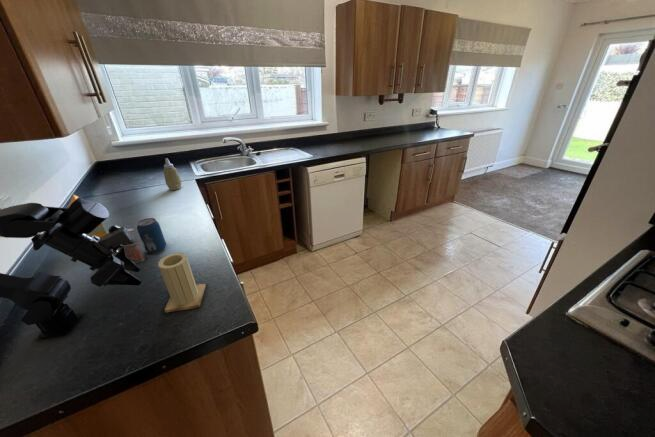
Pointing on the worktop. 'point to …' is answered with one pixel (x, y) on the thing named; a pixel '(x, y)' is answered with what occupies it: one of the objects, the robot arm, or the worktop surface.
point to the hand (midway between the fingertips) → (139, 276)
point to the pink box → (133, 251)
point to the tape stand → (194, 304)
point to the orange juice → (97, 231)
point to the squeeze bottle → (171, 176)
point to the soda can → (151, 235)
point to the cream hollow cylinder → (178, 278)
